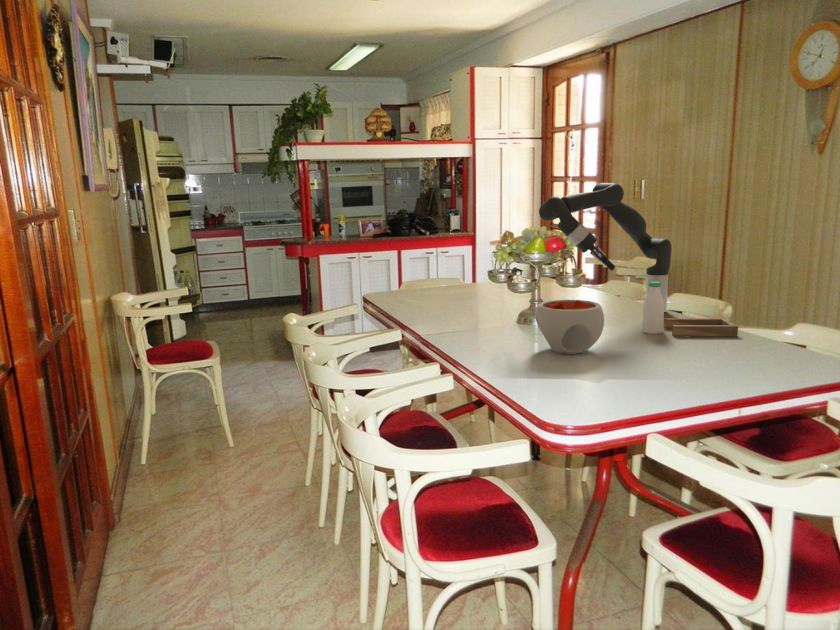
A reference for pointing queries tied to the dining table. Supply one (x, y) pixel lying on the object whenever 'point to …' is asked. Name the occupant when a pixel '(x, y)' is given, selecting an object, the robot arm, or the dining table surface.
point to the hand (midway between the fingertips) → (613, 268)
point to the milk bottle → (653, 310)
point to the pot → (570, 324)
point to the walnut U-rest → (700, 327)
